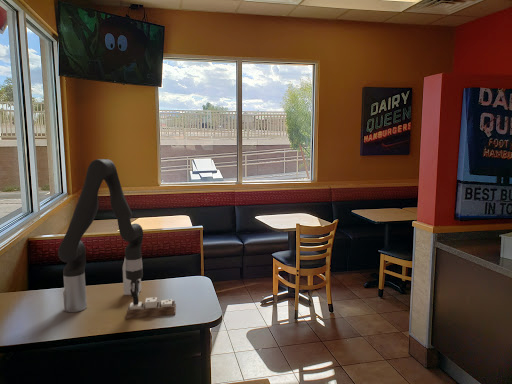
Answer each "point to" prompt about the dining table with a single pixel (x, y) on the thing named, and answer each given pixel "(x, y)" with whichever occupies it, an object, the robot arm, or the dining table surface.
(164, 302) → the tile three
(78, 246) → the robot arm
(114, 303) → the dining table surface
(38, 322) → the dining table surface
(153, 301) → the tile two
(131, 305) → the tile one
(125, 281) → the milk carton
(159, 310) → the brown tile tray
